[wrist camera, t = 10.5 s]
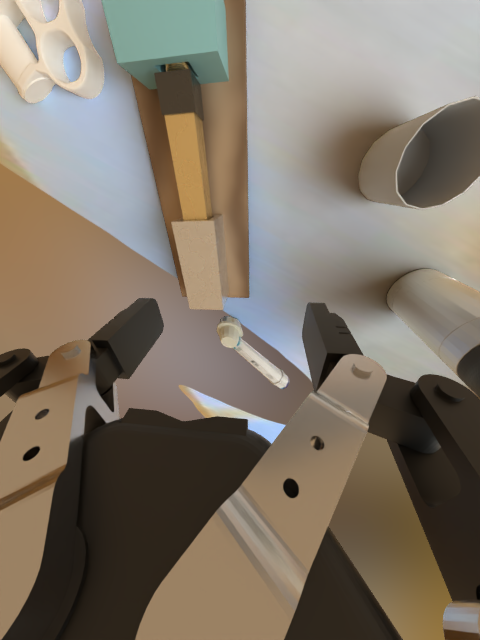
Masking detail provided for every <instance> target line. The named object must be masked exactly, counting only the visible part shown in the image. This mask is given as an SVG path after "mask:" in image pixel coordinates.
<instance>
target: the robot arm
mask: <svg viewBox="0 0 480 640" xmlns="http://www.w3.org/2000/svg"><path fill="white" fill-rule="evenodd" d="M387 304H388V306H389V307H390V309H391V310H392V311H393V312H394V313H395V314H396V315H397V316H398V317H399V318H400V319H401V320H402V321H403V322H404V323H405V324H406V325H407V326H408V327H409V328H410V329H411V330H412V331H413V332H414V333H415V334H416V335H417V336H418V337H419V338H420V339H421V340H422V341H423V342H424V343H425V344H426V345H427V346H428V347H429V348H430V349H431V350H432V351H433V352H434V353H435V354H436V355H437V356H438V357H439V358H440V359H441V360H442V361H443V362H444V363H445V364H446V365H447V366H448V367H449V368H450V369H451V370H452V371H453V372H454V373H455V374H456V375H457V376H458V377H459V378H460V379H461V380H462V381H463V382H464V383H465V384H466V385H467V386H468V387H469V388H470V389H471V390H472V391H474V392H475V393H476V394H477V395H478V396H479V397H480V292H479V291H477V290H475V289H473V288H471V287H469V286H467V285H465V284H463V283H461V282H459V281H457V280H455V279H453V278H451V277H449V276H447V275H445V274H443V273H441V272H439V271H437V270H433V269H420V270H416V271H413V272H410V273H408V274H406V275H404V276H403V277H401V278H400V279H399V280H397V281H396V282H395V283H394V284H393V286H392V287H391V288H390V290H389V292H388V295H387ZM163 327H164V325H163V320H162V317H161V314H160V310H159V307H158V304H157V302H156V300H155V299H153V298H139V299H137V300H136V301H135V302H134V303H133V304H132V305H130V306H129V307H128V308H127V309H125V310H123V311H121V312H120V313H119V314H117V315H116V316H115V317H114V319H112V320H110V321H109V323H108V324H106V325H105V326H103V327H102V328H101V329H100V330H99V331H98V332H96V333H95V334H94V335H93V336H92V337H91V338H89V339H88V340H76V341H72V342H69V343H67V344H64V345H62V346H60V347H59V348H57V349H56V350H55V351H54V352H52V353H51V354H50V356H45V357H38V358H36V357H35V356H34V355H33V353H32V352H31V351H30V350H29V349H16V350H13V351H9V352H6V353H4V354H1V355H0V397H1V396H2V395H3V394H6V395H7V396H8V397H9V398H11V399H12V400H13V401H14V402H15V403H16V405H15V407H14V410H13V411H12V412H11V413H10V414H8V415H7V416H6V417H5V418H4V419H3V420H2V421H1V422H0V640H403V639H402V638H401V636H400V635H399V633H398V632H397V630H396V629H395V627H394V626H393V624H392V622H391V621H390V619H389V618H388V616H387V615H386V613H385V612H384V610H383V609H382V607H381V606H380V604H379V603H378V601H377V600H376V598H375V597H374V595H373V593H372V592H371V590H370V589H369V588H368V586H367V584H366V583H365V581H364V580H363V578H362V577H361V575H360V574H359V572H358V571H357V569H356V568H355V566H354V564H353V563H352V561H351V560H350V558H349V557H348V555H347V554H346V552H345V551H344V550H343V548H342V546H341V545H340V543H339V542H338V540H337V539H336V537H335V535H334V534H333V532H332V531H331V529H330V528H329V526H328V525H329V522H330V520H331V517H332V515H333V513H334V510H335V508H336V506H337V503H338V501H339V498H340V496H341V493H342V491H343V488H344V486H345V484H346V481H347V479H348V477H349V474H350V472H351V469H352V467H353V464H354V462H355V459H356V457H357V455H358V453H359V450H360V447H361V445H362V443H363V440H364V438H365V436H366V433H367V432H370V433H372V434H375V435H377V436H380V437H382V438H385V439H387V442H388V444H389V446H390V449H391V451H392V454H393V456H394V459H395V461H396V464H397V466H398V468H399V471H400V473H401V475H402V478H403V481H404V483H405V485H406V488H407V491H408V493H409V495H410V498H411V500H412V502H413V505H414V508H415V510H416V513H417V515H418V517H419V520H420V522H421V525H422V527H423V530H424V532H425V534H426V537H427V539H428V542H429V544H430V547H431V549H432V551H433V554H434V557H435V559H436V561H437V564H438V566H439V569H440V571H441V573H442V576H443V578H444V581H445V583H446V586H447V588H448V591H449V593H450V596H451V598H452V601H453V602H451V603H449V605H448V606H447V607H446V609H445V612H444V616H443V630H444V637H445V640H480V400H479V399H478V397H477V396H476V395H475V394H474V393H472V392H471V391H470V390H469V389H467V388H466V387H464V386H463V385H461V384H459V383H458V382H456V381H454V380H451V379H449V378H446V377H443V376H439V375H432V374H428V375H423V376H421V377H420V378H419V379H418V381H417V382H416V383H414V382H410V381H407V380H403V379H400V378H396V377H393V376H390V375H387V374H386V372H385V370H384V369H383V367H382V366H381V365H380V364H378V363H377V362H376V361H374V360H372V359H370V358H368V357H366V356H364V355H363V354H362V352H361V350H360V348H359V347H358V345H357V343H356V341H355V339H354V338H353V336H352V334H351V332H350V331H349V329H348V328H347V325H346V323H345V322H344V320H343V319H342V318H341V317H339V316H338V315H337V314H335V313H329V311H328V309H327V307H326V305H325V303H308V304H307V307H306V313H305V318H304V324H303V330H302V338H303V343H304V348H305V352H306V357H307V361H308V365H309V370H310V374H311V379H312V383H313V387H314V391H312V392H311V393H310V394H309V395H308V397H307V398H306V399H305V401H304V402H303V403H302V405H301V406H300V407H299V409H298V410H297V411H296V413H295V414H294V415H293V417H292V418H291V419H290V421H289V422H288V423H287V425H286V426H285V427H284V429H283V430H282V431H281V433H280V434H279V435H278V437H277V438H276V439H275V441H274V442H273V443H272V444H271V443H270V442H269V441H268V440H266V439H265V438H264V437H262V436H261V435H259V434H257V433H256V432H254V431H251V430H249V429H248V419H238V418H228V417H211V418H204V419H198V420H192V421H180V420H178V419H175V418H173V417H171V416H168V415H165V414H163V413H161V412H159V411H154V410H144V409H133V408H129V410H128V411H127V413H126V414H125V416H124V417H123V418H122V419H119V408H118V395H117V385H116V384H115V380H116V379H117V378H123V379H129V378H130V377H131V375H132V374H133V372H134V371H135V370H136V368H137V367H138V365H139V364H140V363H141V361H142V360H143V358H144V357H145V356H146V354H147V353H148V352H149V350H150V349H151V347H152V346H153V345H154V343H155V342H156V340H157V339H158V338H159V336H160V335H161V333H162V331H163Z"/></svg>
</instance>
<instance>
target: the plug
mask: <svg viewBox="0 0 480 640" xmlns="http://www.w3.org/2000/svg"><path fill="white" fill-rule="evenodd" d="M165 67H166V72H158V73H154V75H155V81H156V86H157V91H158V97H159V102H160V107H161V113H162V115H163V116H164V117H165V121H166V127H167V132H168V138H169V143H170V149H171V154H172V160H173V165H174V171H175V176H176V182H177V187H178V193H179V198H180V204H181V209H182V215H183V220H209V219H210V218H212V208H211V199H210V189H209V180H208V170H207V161H206V152H205V142H204V133H203V123H202V121H204V114H203V104H202V94H201V85H200V83H199V82H198V80H197V79H196V77H195V76H194V74H193V72H192V71H191V69H189V67H188V62H181V63H172V64H165Z"/></svg>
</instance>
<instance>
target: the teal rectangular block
mask: <svg viewBox="0 0 480 640" xmlns="http://www.w3.org/2000/svg"><path fill="white" fill-rule="evenodd" d="M101 1H102V5H103V9H104V13H105V17H106V21H107V24H108V28H109V32H110V36H111V40H112V44H113V48H114V52H115V56H116V60H117V64H119V65H120V66H121V67H122V68H124V69H125V70H126V71H127V72H129V73H130V74H131V75H132V76H133V77H135V78H136V79H137V80H138V81H140V82H141V83H142V84H143V85H145V86H146V87H147V88H148V89H150V90H151V89H157V86H156V81H155V75H154V73H158V72H166V67H165V64H172V63H181V62H188V67H189V69H191V71H192V72H193V74H194V76H195V77H196V79H197V80H198V82H199V83H200V84H207V83H216V82H225V81H229V74H228V52H227V31H226V10H225V4H224V0H101Z"/></svg>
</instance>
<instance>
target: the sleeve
mask: <svg viewBox="0 0 480 640" xmlns="http://www.w3.org/2000/svg"><path fill="white" fill-rule="evenodd" d="M171 224H172V228H173V233H174V237H175V242H176V247H177V251H178V256H179V261H180V265H181V270H182V275H183V279H184V284H185V288H186V293H187V298H188V302H189V307H190V309H211V310H223V309H224V306H225V303H226V300H227V297H228V294H229V288H228V275H227V262H226V249H225V237H224V224H223V214H222V215H212V218H210V219H209V220H183V217H182V218H180V219H177V220H174V221H172V222H171Z"/></svg>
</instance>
